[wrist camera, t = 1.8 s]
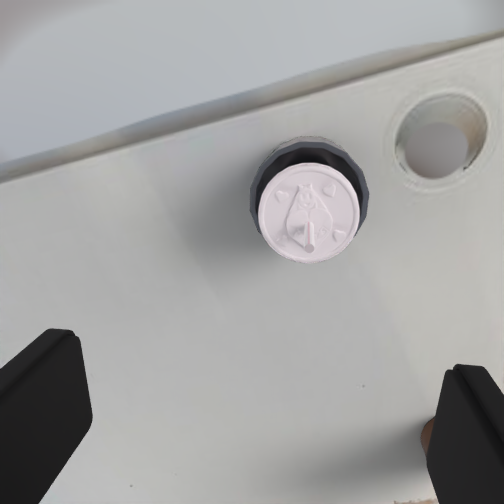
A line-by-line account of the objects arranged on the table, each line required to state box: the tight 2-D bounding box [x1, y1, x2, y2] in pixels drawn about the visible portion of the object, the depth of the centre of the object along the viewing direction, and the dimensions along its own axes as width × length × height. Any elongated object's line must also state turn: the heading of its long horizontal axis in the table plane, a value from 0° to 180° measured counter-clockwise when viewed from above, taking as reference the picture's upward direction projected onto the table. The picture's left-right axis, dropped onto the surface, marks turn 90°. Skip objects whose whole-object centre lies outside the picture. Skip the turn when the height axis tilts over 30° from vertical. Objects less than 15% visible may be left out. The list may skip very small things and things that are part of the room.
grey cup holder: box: [250, 136, 369, 238], centre depth 30 cm, size 8×8×6 cm
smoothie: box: [258, 163, 360, 263], centre depth 26 cm, size 6×6×14 cm
